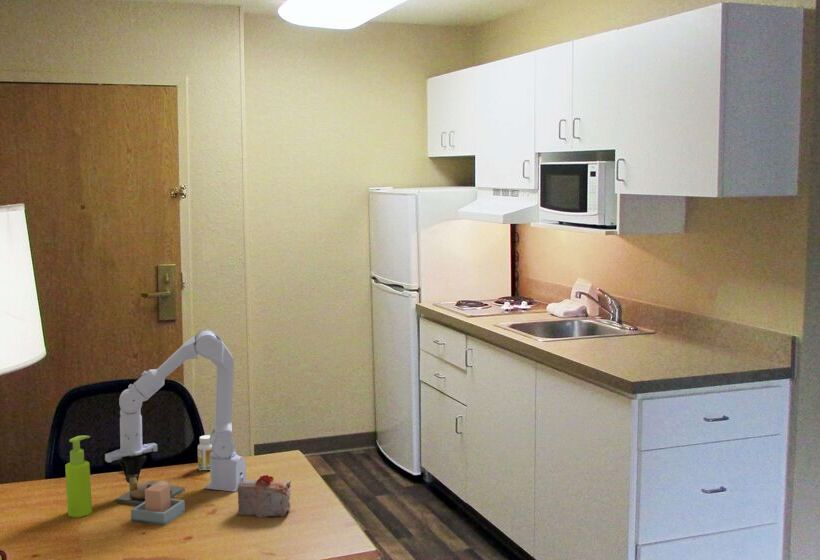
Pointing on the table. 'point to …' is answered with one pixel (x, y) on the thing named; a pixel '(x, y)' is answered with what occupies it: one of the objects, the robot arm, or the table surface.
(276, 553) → the table surface
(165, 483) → the crank
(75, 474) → the soap dispenser
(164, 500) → the block
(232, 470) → the robot arm
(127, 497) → the crank base
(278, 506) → the food item
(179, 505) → the tray
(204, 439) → the supplement bottle
